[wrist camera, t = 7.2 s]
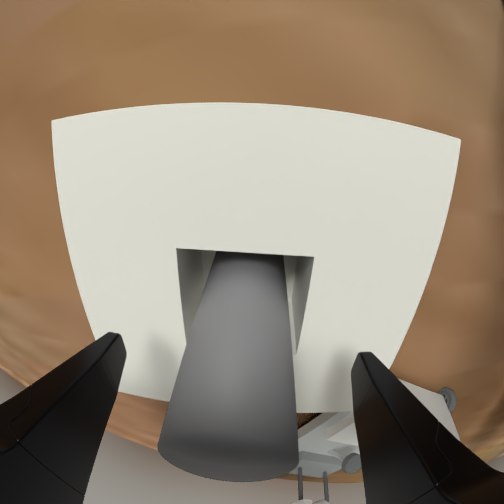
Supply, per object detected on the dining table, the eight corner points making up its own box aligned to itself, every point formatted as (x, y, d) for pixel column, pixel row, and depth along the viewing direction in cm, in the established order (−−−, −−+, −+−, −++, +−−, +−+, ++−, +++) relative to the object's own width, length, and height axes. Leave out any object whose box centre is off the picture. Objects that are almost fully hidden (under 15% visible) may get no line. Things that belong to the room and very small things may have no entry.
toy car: (334, 530, 20) (241, 527, 17) (329, 463, 28) (247, 446, 26) (484, 465, 12) (413, 471, 10) (450, 382, 21) (376, 348, 19)
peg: (286, 227, 14) (312, 435, 5) (280, 286, 15) (288, 483, 6) (216, 223, 14) (142, 419, 5) (217, 282, 15) (170, 472, 6)
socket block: (402, 126, 12) (460, 139, 7) (351, 349, 18) (366, 409, 14) (114, 112, 12) (51, 120, 8) (142, 334, 19) (116, 391, 14)
